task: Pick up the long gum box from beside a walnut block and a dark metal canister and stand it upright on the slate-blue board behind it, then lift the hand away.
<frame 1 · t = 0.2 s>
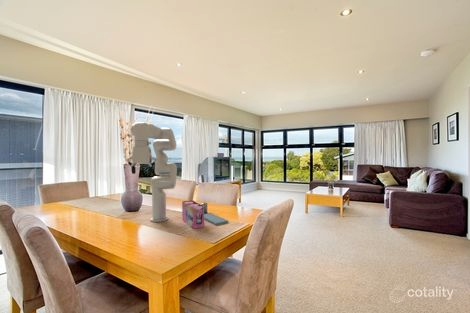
hand: (142, 173, 133), 37 cm above the table, tool pointing down, fingers open, 9 cm apart
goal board: (213, 219, 165), on the table
gum box: (192, 223, 158), on the table
walnut block: (189, 216, 174), on the table
metal canister: (204, 213, 182), on the table
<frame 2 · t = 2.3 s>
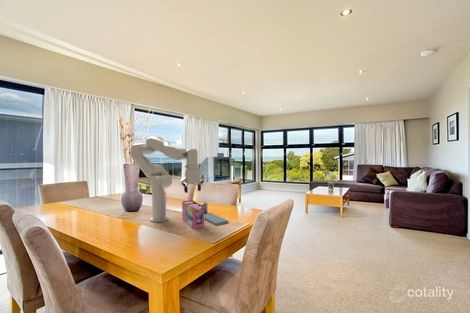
hand: (192, 191, 157), 22 cm above the table, tool pointing down, fingers open, 9 cm apart
nothing on the table moved.
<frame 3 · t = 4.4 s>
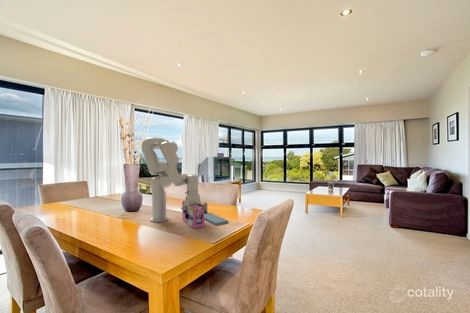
hand: (193, 217, 158), 4 cm above the table, tool pointing down, fingers closed on gum box, 8 cm apart
gum box: (192, 223, 158), on the table, touching gripper
everything else where it was.
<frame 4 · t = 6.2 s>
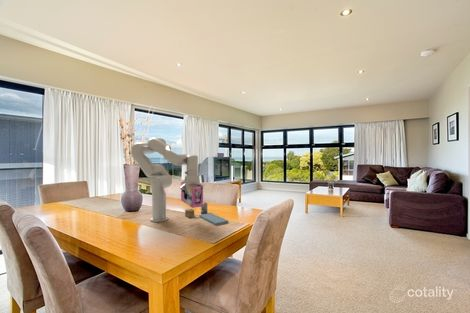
hand: (191, 198, 158), 17 cm above the table, tool pointing down, fingers closed on gum box, 8 cm apart
gum box: (191, 203, 158), point 13 cm above the table, touching gripper
everything else where it was.
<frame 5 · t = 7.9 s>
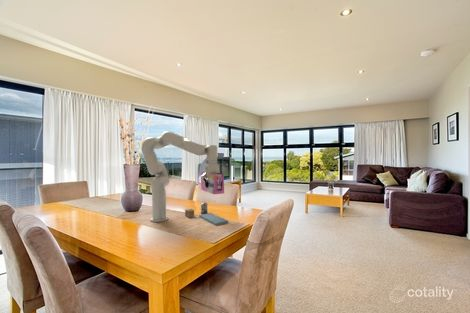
hand: (212, 186, 164), 24 cm above the table, tool pointing down, fingers closed on gum box, 8 cm apart
gum box: (212, 191, 164), point 20 cm above the table, touching gripper
everything else where it was.
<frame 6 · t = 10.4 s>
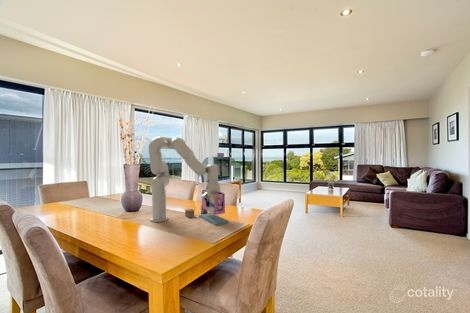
hand: (213, 205, 165), 10 cm above the table, tool pointing down, fingers closed on gum box, 8 cm apart
gum box: (213, 210, 165), point 6 cm above the table, touching gripper
everything else where it was.
when the fingers open (7 cm above the table, at t = 11.9 s): gum box drops 2 cm, resting on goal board.
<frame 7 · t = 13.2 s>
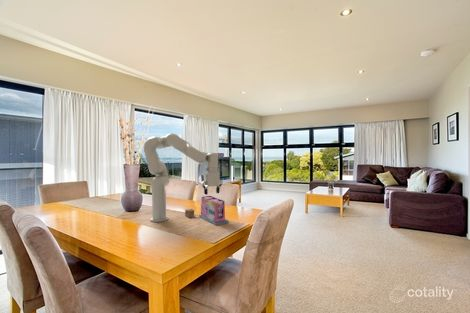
hand: (211, 193, 165), 19 cm above the table, tool pointing down, fingers open, 9 cm apart
gum box: (212, 217, 165), point 1 cm above the table, touching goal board
everything else where it was.
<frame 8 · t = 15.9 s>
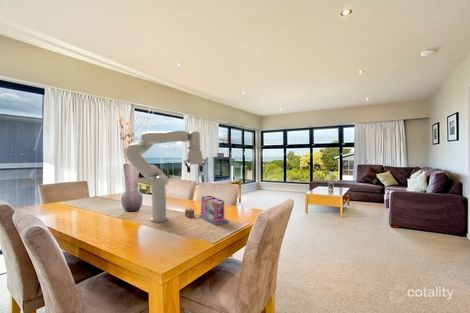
hand: (195, 172, 167), 34 cm above the table, tool pointing down, fingers open, 9 cm apart
nothing on the table moved.
at the end: gum box inside the target area on the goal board (0.5 cm from its centre), point 1.3 cm above the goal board's base; gum box tilted 0°; the gripper is holding nothing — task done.
